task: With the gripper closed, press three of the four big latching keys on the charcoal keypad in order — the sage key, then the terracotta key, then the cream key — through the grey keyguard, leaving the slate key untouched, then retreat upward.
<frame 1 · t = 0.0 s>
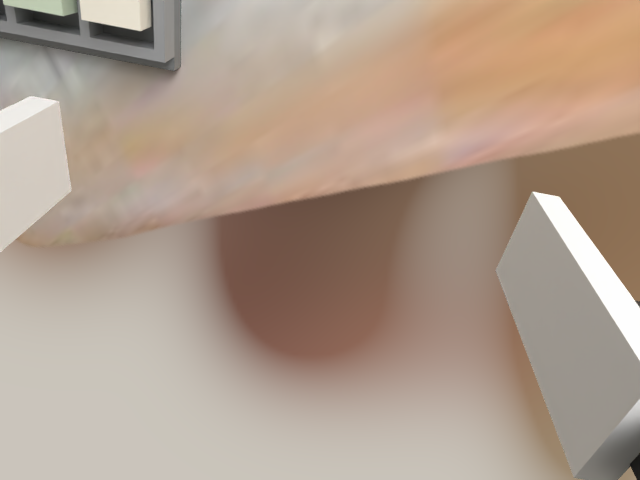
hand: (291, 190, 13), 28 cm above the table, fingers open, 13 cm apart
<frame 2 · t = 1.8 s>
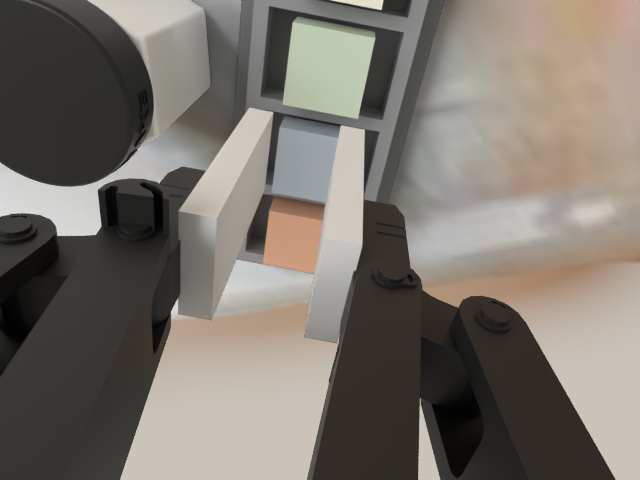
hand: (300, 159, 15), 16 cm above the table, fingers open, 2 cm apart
key terracotta: (299, 236, 32), point 4 cm above the table, slide at 0.0 cm
key slate: (312, 161, 29), point 4 cm above the table, slide at 0.0 cm
key sage: (328, 68, 26), point 4 cm above the table, slide at 0.0 cm
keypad: (325, 96, 31), on the table
jar: (149, 44, 30), on the table
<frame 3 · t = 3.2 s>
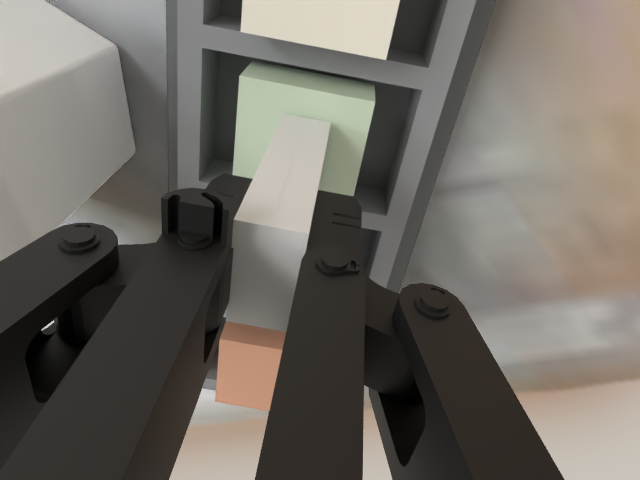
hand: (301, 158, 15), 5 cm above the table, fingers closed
key terracotta: (267, 363, 22), point 4 cm above the table, slide at 0.0 cm
key slate: (281, 271, 19), point 4 cm above the table, slide at 0.0 cm
key sage: (301, 141, 16), point 4 cm above the table, slide at 0.3 cm, touching gripper
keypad: (302, 167, 21), on the table
jar: (42, 93, 20), on the table
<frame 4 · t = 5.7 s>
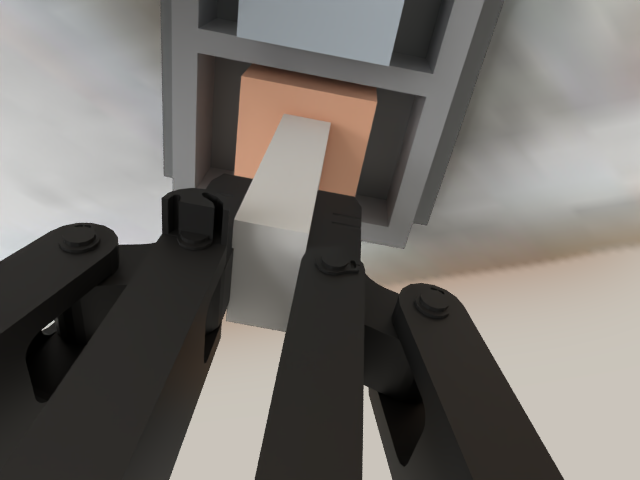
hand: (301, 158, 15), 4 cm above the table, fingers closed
key terracotta: (303, 141, 16), point 3 cm above the table, slide at 1.0 cm, touching gripper
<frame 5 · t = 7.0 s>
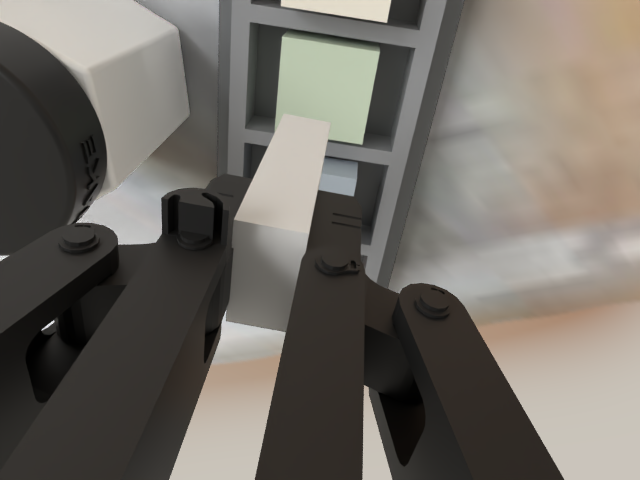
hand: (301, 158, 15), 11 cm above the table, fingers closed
key slate: (309, 201, 24), point 4 cm above the table, slide at 0.0 cm
key sage: (326, 87, 22), point 3 cm above the table, slide at 1.1 cm
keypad: (323, 122, 26), on the table
jar: (117, 69, 26), on the table
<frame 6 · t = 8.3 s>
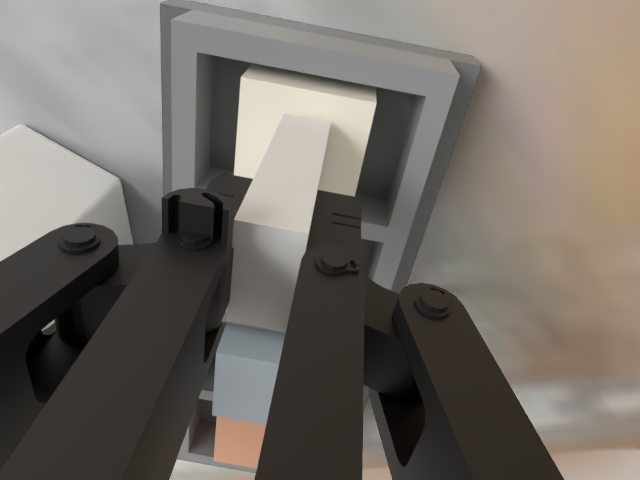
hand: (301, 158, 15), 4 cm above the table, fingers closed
key terracotta: (258, 428, 25), point 3 cm above the table, slide at 1.1 cm
key slate: (265, 376, 22), point 4 cm above the table, slide at 0.0 cm
key cream: (302, 142, 16), point 3 cm above the table, slide at 1.0 cm, touching gripper
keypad: (285, 274, 24), on the table
jar: (53, 211, 23), on the table
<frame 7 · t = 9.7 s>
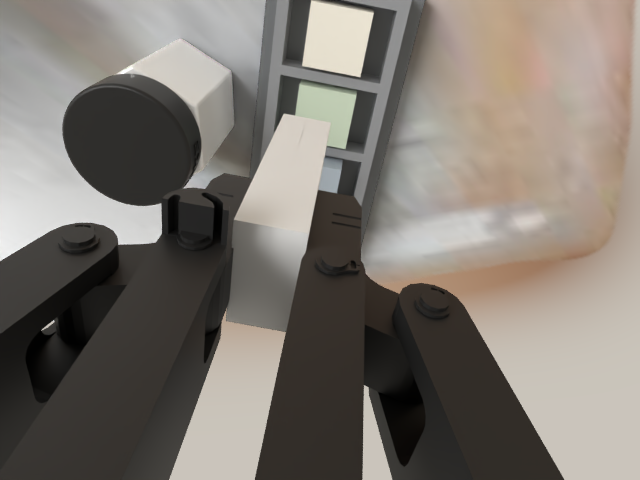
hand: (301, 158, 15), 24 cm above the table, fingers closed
key slate: (311, 183, 38), point 4 cm above the table, slide at 0.0 cm
key cream: (337, 37, 33), point 3 cm above the table, slide at 1.1 cm
key sage: (324, 113, 36), point 3 cm above the table, slide at 1.1 cm
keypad: (321, 133, 40), on the table
jar: (188, 94, 40), on the table
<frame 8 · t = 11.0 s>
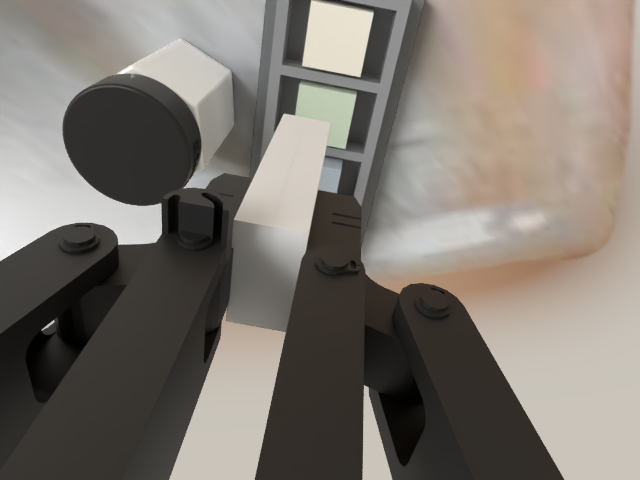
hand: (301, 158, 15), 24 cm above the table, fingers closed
key slate: (311, 183, 38), point 4 cm above the table, slide at 0.0 cm
key cream: (337, 37, 33), point 3 cm above the table, slide at 1.1 cm
key sage: (324, 113, 36), point 3 cm above the table, slide at 1.1 cm
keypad: (321, 133, 40), on the table
jar: (188, 94, 40), on the table
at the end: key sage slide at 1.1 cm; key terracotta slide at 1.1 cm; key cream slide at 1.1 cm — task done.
